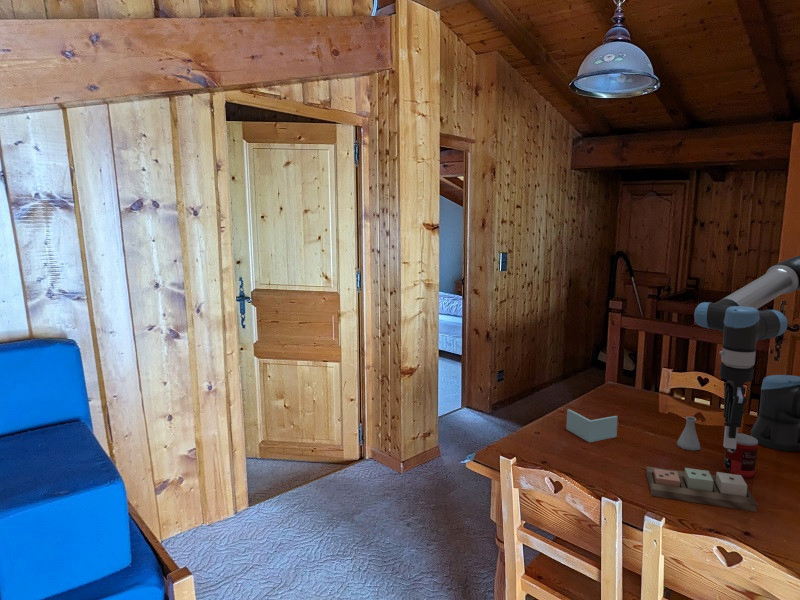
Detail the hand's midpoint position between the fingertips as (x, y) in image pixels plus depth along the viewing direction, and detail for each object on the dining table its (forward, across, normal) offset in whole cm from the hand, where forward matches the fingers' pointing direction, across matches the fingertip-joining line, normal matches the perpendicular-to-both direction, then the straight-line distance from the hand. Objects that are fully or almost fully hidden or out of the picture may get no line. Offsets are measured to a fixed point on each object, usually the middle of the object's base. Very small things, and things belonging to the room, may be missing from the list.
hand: (729, 447), depth 143 cm
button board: (+14, 0, -7) cm, 16 cm away
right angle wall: (+14, -32, -35) cm, 49 cm away
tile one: (+12, 0, +1) cm, 12 cm away
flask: (+14, -31, -4) cm, 34 cm away
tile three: (+14, +1, -15) cm, 20 cm away
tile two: (+12, 0, -7) cm, 14 cm away
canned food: (+14, -16, +7) cm, 22 cm away
